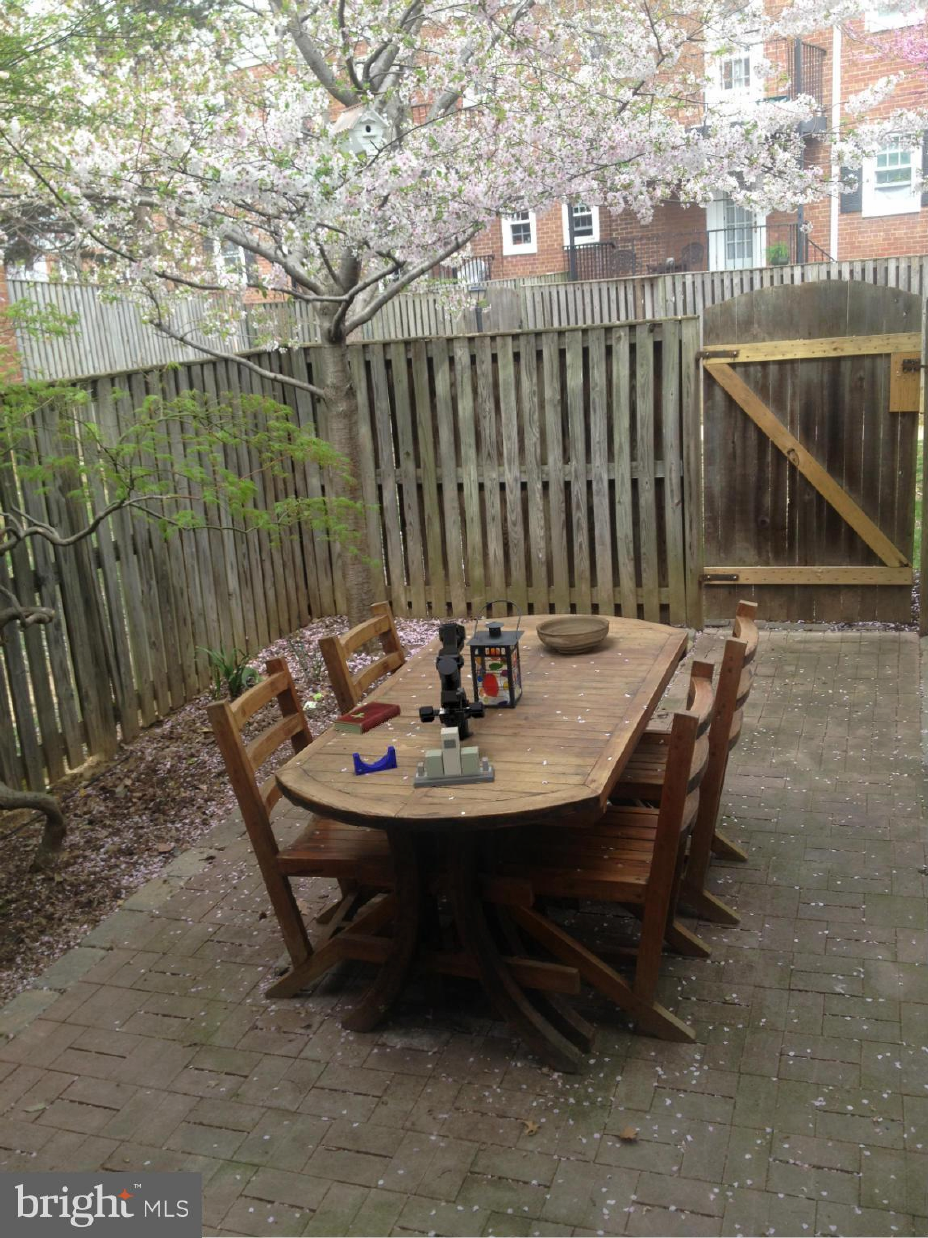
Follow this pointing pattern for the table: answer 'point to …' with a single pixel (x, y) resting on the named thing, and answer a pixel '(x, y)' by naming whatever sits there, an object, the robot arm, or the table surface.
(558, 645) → the ceramic bowl
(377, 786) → the table surface
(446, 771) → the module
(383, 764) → the blue cradle stand
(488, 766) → the rail board
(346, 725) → the hardcover book
